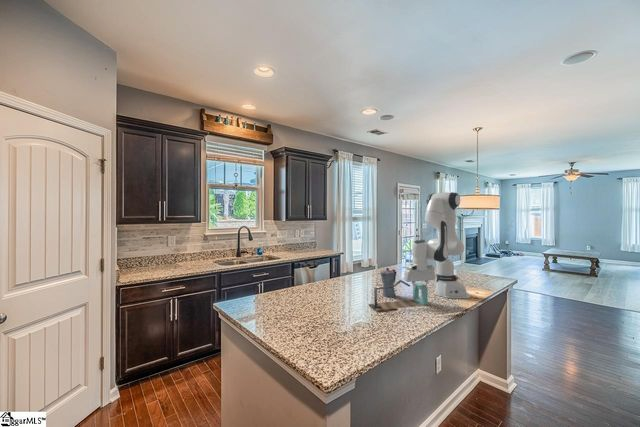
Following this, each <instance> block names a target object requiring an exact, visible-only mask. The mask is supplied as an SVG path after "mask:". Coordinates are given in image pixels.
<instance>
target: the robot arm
mask: <svg viewBox="0 0 640 427" xmlns="http://www.w3.org/2000/svg"><path fill="white" fill-rule="evenodd" d="M460 203H461V197H460V195H459V193H458V192H455V191H454V192H446V191H445V192H437V193H430V194H428V196H427V197H426V205H427V206H426V208H425V213H424V221H425V223H426V224H427V225H428V226H429V227H431V228H433V229H435V230H436V231H437V232H438V233H437V234H438V238H431V239H430V240H428V241H426V240H425V239H416V240H414V241H413V243H412V252H411V253H412V262H410V263H408V264H405V266H404V267H405V270H404V274H403V275H404V276H403V277H404V278H403V279H404V282H405V281H406V283H407V282H408V283H410V282H411V284H412V289H413V288H417V285H415V283H416V282H422V281H423V282H424V283H423V284H422V285H424V286H426V287H427V288H428V284H429V281H434V280H435V282H436V283H435V284H436V286H435V289H434V290H435V291H434V294H435V295H436V296H439V297H442V298H445V299H470V298H471V294H470V293H468V292H467V288H466V286H465V285H464V284H462V283H461V282H460V281H459V276H457V275H455V266H454V263H453V261H451V260H450V259H449V256H451V257H452V256H461V255H462V254H463V253H464V251H465V245H464V243H463V242H462V241H461V240H460V239H459V237H458V235H457V232H456V220H457V214H456V213H457V211H456V210H457V208H458V207H459V206H460ZM428 260H429V261H435V264H436V273H435V266H433V265H432V264H431V265H428Z"/></svg>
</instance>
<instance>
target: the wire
mask: <svg viewBox="0 0 640 427" xmlns="http://www.w3.org/2000/svg"><path fill="white" fill-rule="evenodd" d="M399 284H404V285H406V286H407V287H411V284H409V283H407V282H405V280H404V281H403V280H402V279H400V280H398V281H397V282H395V283H394V285H393V286H389V287H383V286H379V287H378V286H375V287H374V288H373V293H374V294H373V296H374V297H373V298H374V299H373V300H374V302H373V303H374V304H373V303H369V304H370V306H371V307H372V308H381V306H380V305H379V304H377V303H378V290H383V289H389V288H393V287H394V288H395V287H396V286H398V285H399ZM370 306H369V307H370ZM371 307H370V308H371ZM372 308H371V309H372Z"/></svg>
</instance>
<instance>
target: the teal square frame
mask: <svg viewBox="0 0 640 427" xmlns="http://www.w3.org/2000/svg"><path fill="white" fill-rule="evenodd" d="M415 285H417V288H413V287H412V297H413V298H412V300H414V301H416V302H418V303H420V304H422V305H426V306H429V305H428V304H429V303H428V300H429V299H428V297H429V296H428V286H427V287H426V286H424V285H423V284H421V283H418V282H415ZM419 289H420V290H421V292H420V290H419ZM420 293H421V297H420Z"/></svg>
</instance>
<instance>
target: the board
mask: <svg viewBox="0 0 640 427" xmlns="http://www.w3.org/2000/svg"><path fill="white" fill-rule="evenodd" d="M370 304H371V303H368V306H369V307H370V308H371V309H372V310H374V311H375V312H376V313H379V312H390V311H391V312H392V311H399V309H403V308H417V307H425V306H426V307H427V306H431V304H430V303H428V305H422V304H420V303H418V302H416V301H414V300H413V299H407V300H397V301H395V300H394V301H386V302H377V304H379V305H380V306H381V308H372V307H371V306H370ZM372 304H374V302H373V303H372Z"/></svg>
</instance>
